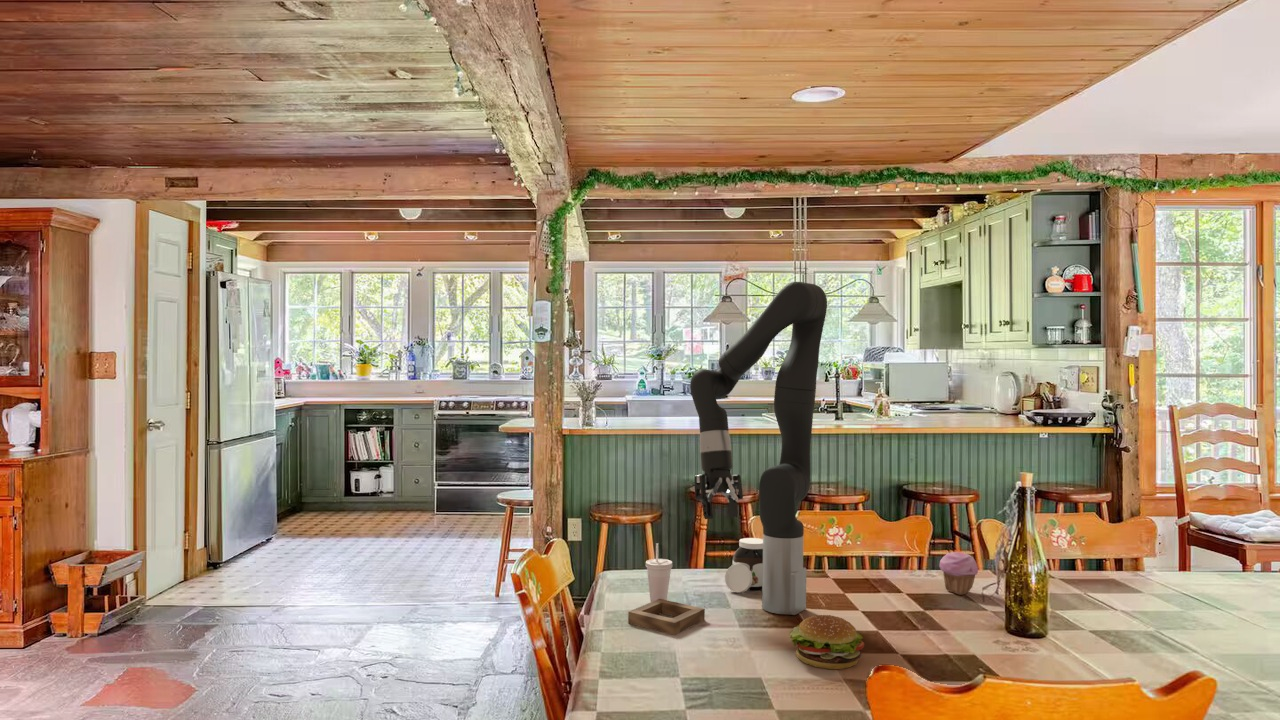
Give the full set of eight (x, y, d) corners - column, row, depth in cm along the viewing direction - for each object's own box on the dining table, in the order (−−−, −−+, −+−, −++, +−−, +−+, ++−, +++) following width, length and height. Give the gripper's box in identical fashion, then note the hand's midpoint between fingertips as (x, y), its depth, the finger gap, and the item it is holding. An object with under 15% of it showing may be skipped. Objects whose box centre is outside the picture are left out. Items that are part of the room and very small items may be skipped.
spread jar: (771, 583, 207) (771, 538, 207) (774, 596, 195) (774, 548, 195) (724, 581, 208) (725, 536, 208) (724, 594, 197) (725, 546, 197)
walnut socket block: (704, 620, 177) (704, 608, 177) (674, 634, 167) (674, 622, 167) (659, 609, 184) (659, 598, 184) (628, 623, 174) (628, 611, 174)
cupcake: (932, 589, 203) (932, 549, 203) (957, 585, 207) (958, 546, 207) (959, 599, 195) (960, 558, 195) (985, 595, 199) (986, 554, 199)
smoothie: (640, 600, 190) (641, 541, 190) (664, 597, 193) (665, 539, 193) (652, 608, 184) (653, 547, 184) (677, 605, 187) (677, 545, 187)
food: (808, 640, 165) (808, 602, 165) (873, 657, 156) (874, 616, 156) (774, 659, 154) (775, 618, 154) (842, 678, 145) (843, 634, 145)
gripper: (706, 448, 188) (712, 518, 184) (746, 449, 197) (752, 516, 194) (684, 451, 193) (689, 520, 190) (724, 453, 203) (729, 518, 199)
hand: (721, 518), depth 192 cm, fingers open, 8 cm apart
